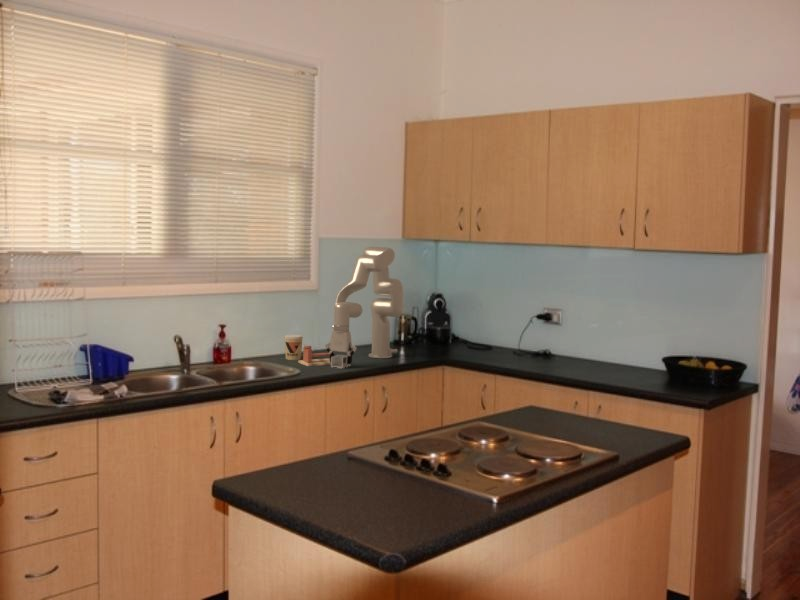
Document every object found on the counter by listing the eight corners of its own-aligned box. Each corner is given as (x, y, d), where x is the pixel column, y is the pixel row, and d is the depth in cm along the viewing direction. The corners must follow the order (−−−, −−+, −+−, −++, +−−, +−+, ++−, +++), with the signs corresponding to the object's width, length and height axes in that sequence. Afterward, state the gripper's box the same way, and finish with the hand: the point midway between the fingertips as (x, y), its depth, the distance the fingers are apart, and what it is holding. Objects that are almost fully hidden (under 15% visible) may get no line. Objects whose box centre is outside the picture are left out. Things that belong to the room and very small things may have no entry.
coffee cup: (282, 360, 426) (283, 336, 425) (285, 357, 436) (286, 334, 435) (300, 360, 426) (301, 337, 425) (303, 357, 435) (303, 334, 434)
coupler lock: (338, 365, 417) (339, 354, 416) (350, 366, 414) (350, 355, 414) (330, 367, 410) (331, 356, 409) (342, 368, 407) (342, 358, 406)
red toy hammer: (327, 359, 425) (327, 344, 424) (332, 361, 420) (332, 345, 419) (301, 361, 418) (301, 345, 417) (306, 363, 413) (306, 347, 412)
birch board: (339, 359, 432) (339, 357, 432) (349, 363, 422) (349, 361, 421) (298, 362, 420) (298, 360, 420) (307, 366, 410) (307, 364, 410)
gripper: (322, 327, 410) (321, 362, 412) (353, 330, 403) (352, 365, 405) (330, 326, 417) (329, 360, 419) (360, 329, 410) (359, 363, 411)
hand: (340, 362), depth 412 cm, fingers open, 9 cm apart
